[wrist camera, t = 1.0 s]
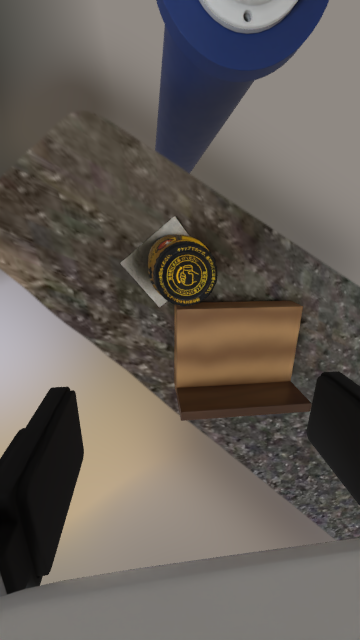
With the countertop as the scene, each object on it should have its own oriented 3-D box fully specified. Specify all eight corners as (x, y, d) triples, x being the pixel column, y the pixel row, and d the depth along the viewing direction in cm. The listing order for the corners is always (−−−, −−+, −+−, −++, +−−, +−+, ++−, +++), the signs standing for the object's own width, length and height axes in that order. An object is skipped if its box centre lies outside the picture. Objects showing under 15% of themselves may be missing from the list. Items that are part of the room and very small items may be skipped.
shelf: (174, 302, 33) (182, 323, 26) (290, 300, 35) (329, 318, 28) (174, 383, 37) (180, 420, 30) (279, 377, 39) (310, 411, 32)
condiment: (210, 264, 32) (244, 281, 21) (159, 307, 33) (164, 345, 22) (174, 216, 30) (190, 205, 19) (120, 262, 31) (104, 280, 20)
